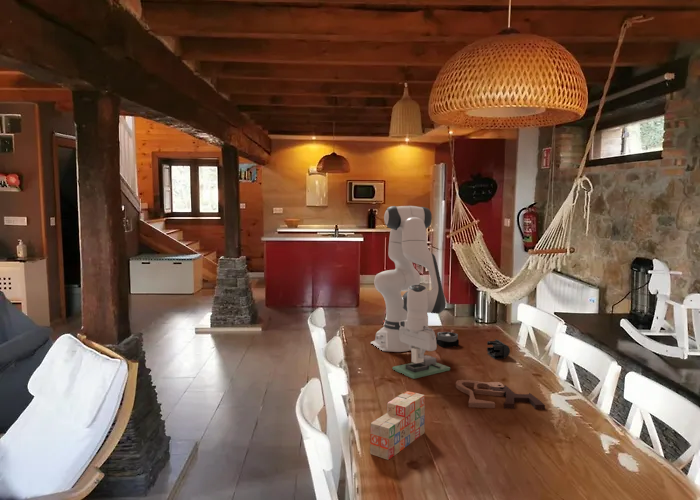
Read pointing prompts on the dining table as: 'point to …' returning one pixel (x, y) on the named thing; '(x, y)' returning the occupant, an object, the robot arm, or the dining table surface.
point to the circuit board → (421, 368)
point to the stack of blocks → (398, 425)
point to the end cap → (498, 349)
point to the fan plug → (416, 355)
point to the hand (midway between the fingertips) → (417, 356)
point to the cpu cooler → (447, 339)
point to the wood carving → (495, 394)
